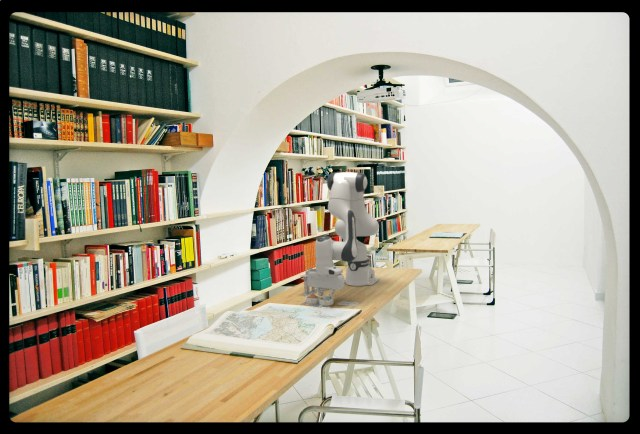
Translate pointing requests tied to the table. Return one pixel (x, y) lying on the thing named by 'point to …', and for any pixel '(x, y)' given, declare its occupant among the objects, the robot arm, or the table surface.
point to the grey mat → (348, 303)
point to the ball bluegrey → (325, 298)
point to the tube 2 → (325, 301)
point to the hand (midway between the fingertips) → (325, 296)
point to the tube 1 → (312, 300)
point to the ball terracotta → (312, 296)
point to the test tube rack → (307, 290)
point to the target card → (314, 304)
